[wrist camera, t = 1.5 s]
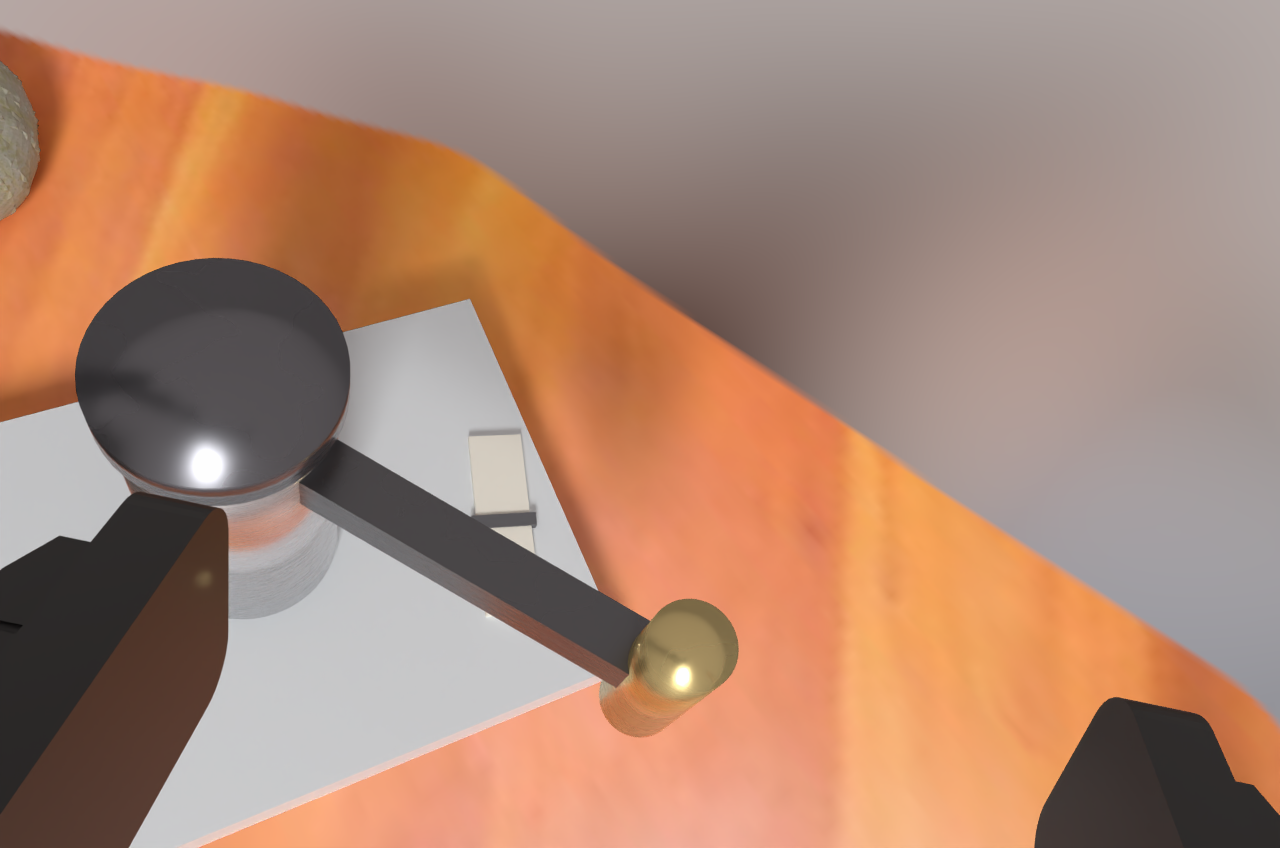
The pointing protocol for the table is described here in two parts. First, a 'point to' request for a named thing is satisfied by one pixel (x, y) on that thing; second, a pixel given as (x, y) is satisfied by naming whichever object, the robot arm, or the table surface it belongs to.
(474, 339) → the stand
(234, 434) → the capstan
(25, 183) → the sea urchin shell
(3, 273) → the table surface
